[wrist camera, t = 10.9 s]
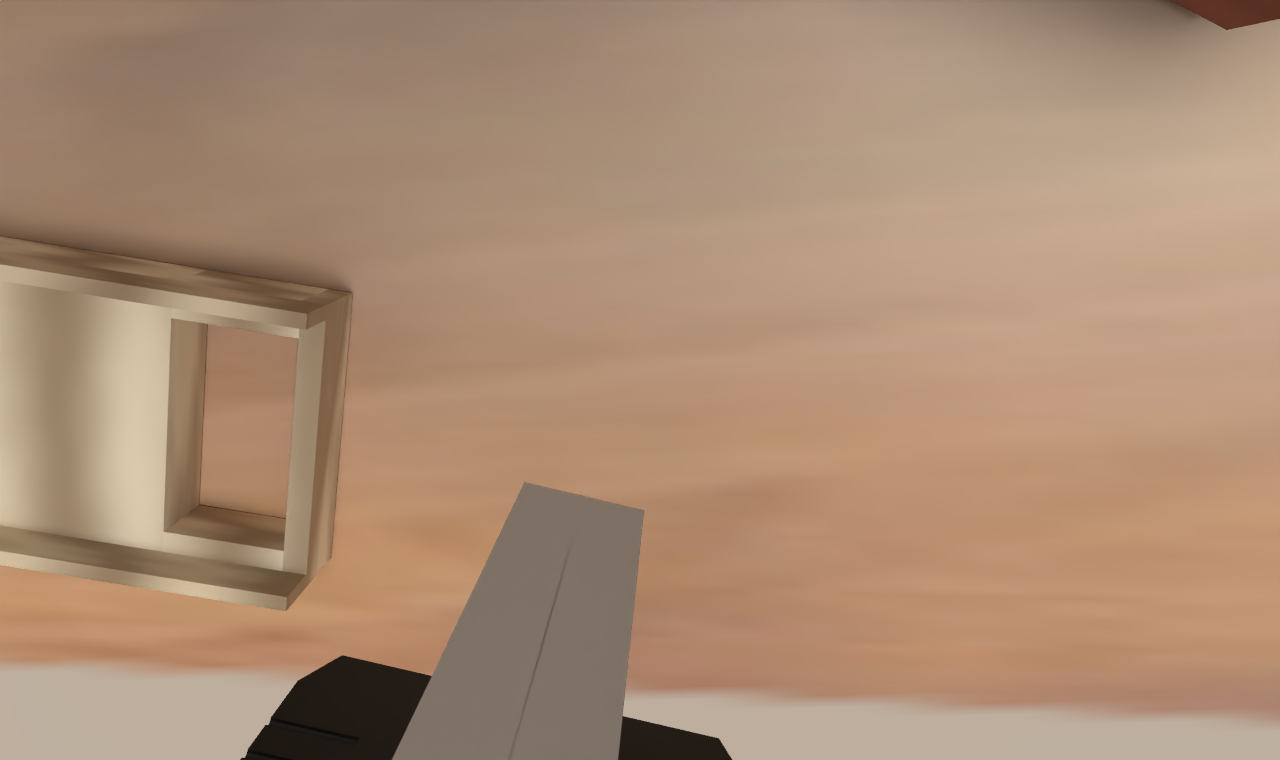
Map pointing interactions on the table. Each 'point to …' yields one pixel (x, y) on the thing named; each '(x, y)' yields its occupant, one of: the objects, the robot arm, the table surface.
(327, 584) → the table surface
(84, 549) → the beige open frame
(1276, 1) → the potted plant
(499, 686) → the robot arm
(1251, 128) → the table surface
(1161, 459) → the table surface
